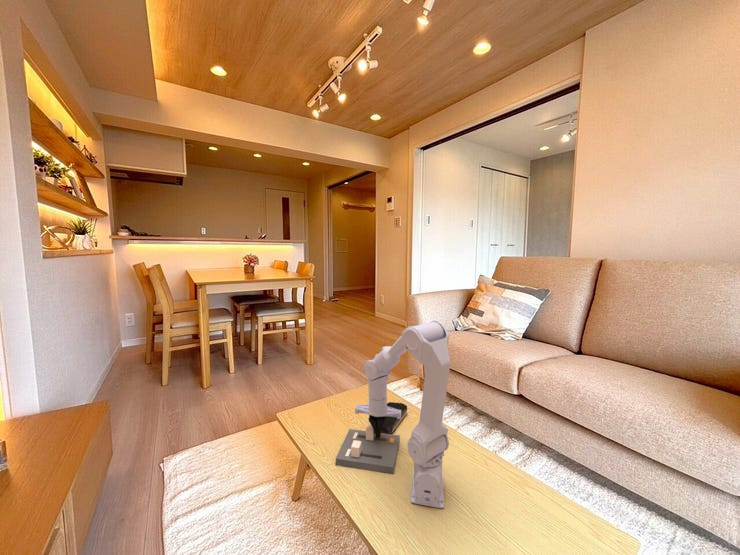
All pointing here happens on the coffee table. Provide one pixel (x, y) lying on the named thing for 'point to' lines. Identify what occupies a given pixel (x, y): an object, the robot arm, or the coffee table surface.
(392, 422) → the black sponge
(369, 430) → the block
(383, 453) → the grey flat block
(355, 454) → the block
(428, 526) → the coffee table surface
